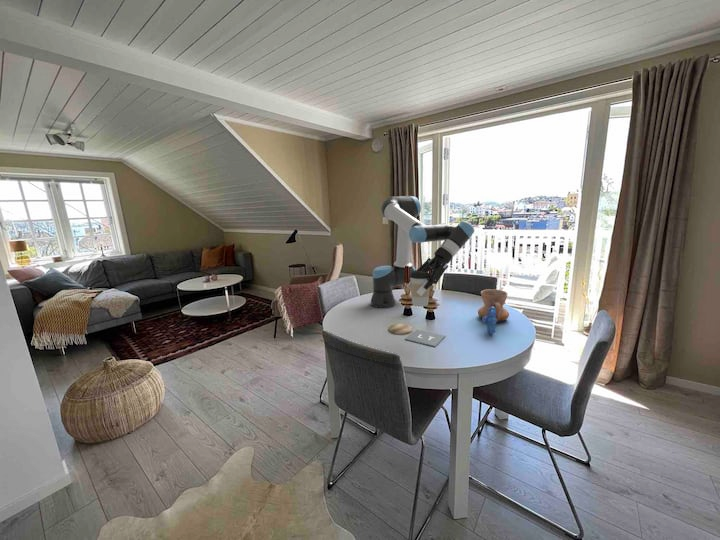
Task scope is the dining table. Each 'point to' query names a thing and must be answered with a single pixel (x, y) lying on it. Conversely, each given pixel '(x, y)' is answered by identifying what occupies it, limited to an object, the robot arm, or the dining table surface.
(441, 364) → the dining table surface
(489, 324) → the grapes
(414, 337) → the tile
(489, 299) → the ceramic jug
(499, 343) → the dining table surface
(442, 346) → the dining table surface
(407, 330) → the coaster
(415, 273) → the coffee cup
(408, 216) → the robot arm
